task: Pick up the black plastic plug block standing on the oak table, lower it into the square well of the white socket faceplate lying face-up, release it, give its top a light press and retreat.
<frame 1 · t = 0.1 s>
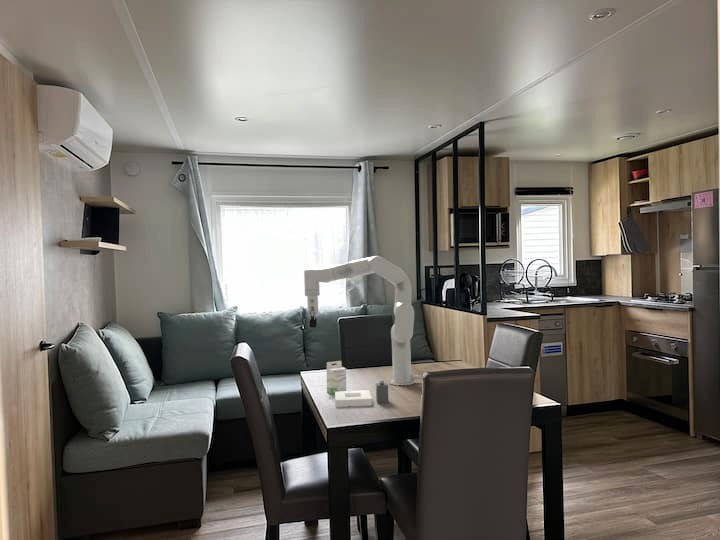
hand: (313, 326, 261), 31 cm above the table, tool pointing down, fingers open, 9 cm apart
ink box: (336, 392, 249), on the table
plug: (382, 402, 228), on the table
socket: (353, 401, 230), on the table
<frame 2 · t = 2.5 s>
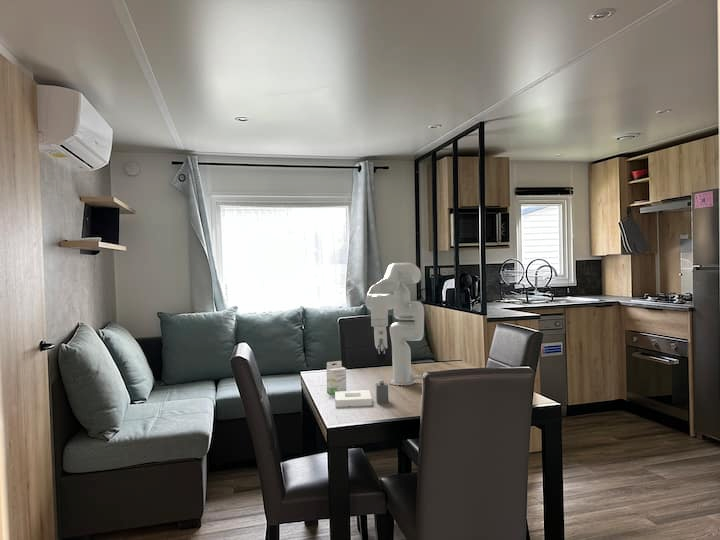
hand: (380, 360, 228), 18 cm above the table, tool pointing down, fingers open, 9 cm apart
nothing on the table moved.
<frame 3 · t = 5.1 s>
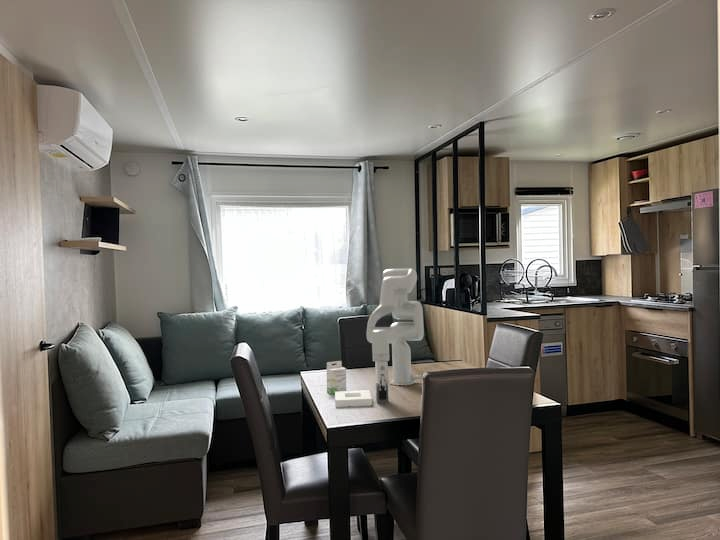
hand: (382, 397, 228), 2 cm above the table, tool pointing down, fingers closed on plug, 5 cm apart
plug: (382, 402, 228), on the table, touching gripper
everything else where it was.
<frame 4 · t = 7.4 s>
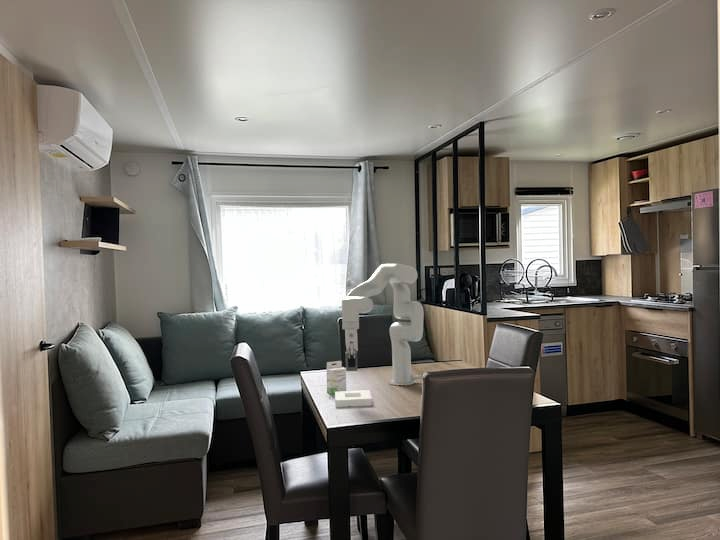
hand: (351, 365, 230), 16 cm above the table, tool pointing down, fingers closed on plug, 5 cm apart
plug: (351, 369, 230), point 14 cm above the table, touching gripper
everything else where it was.
when the fingers open (4 cm above the table, at t = 9.6 s): plug drops 2 cm, resting on socket.
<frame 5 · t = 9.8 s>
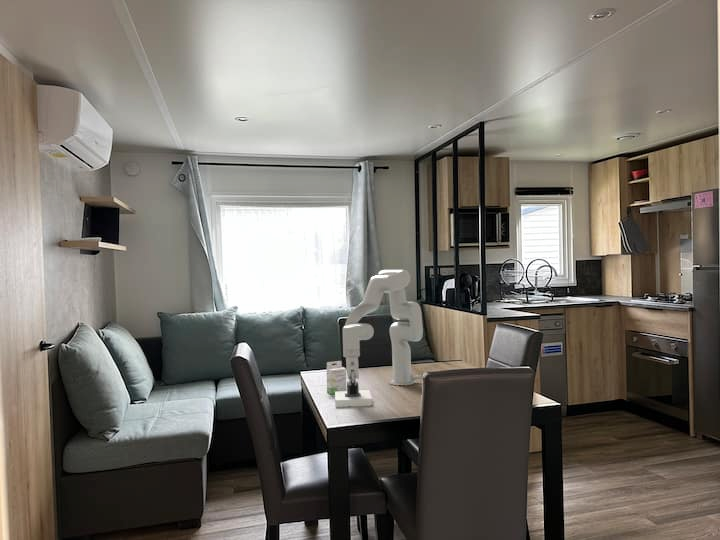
hand: (352, 391, 230), 4 cm above the table, tool pointing down, fingers open, 7 cm apart
plug: (353, 400, 230), resting on socket
everything else where it was.
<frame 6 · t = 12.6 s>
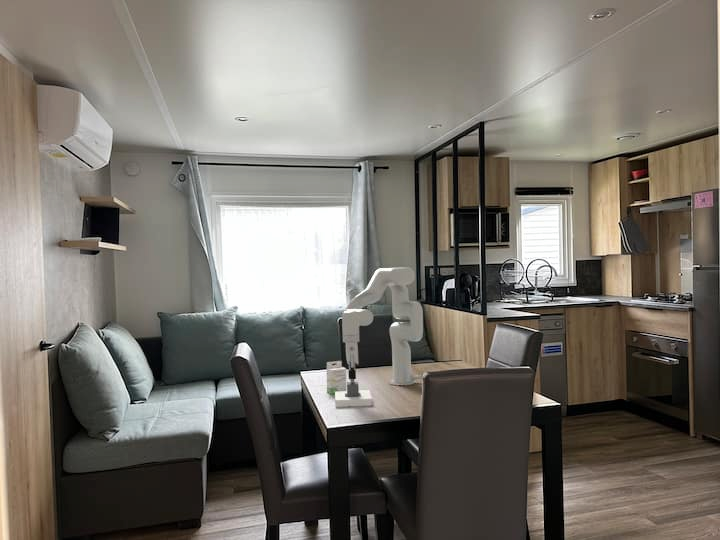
hand: (352, 378, 230), 10 cm above the table, tool pointing down, fingers closed
nothing on the table moved.
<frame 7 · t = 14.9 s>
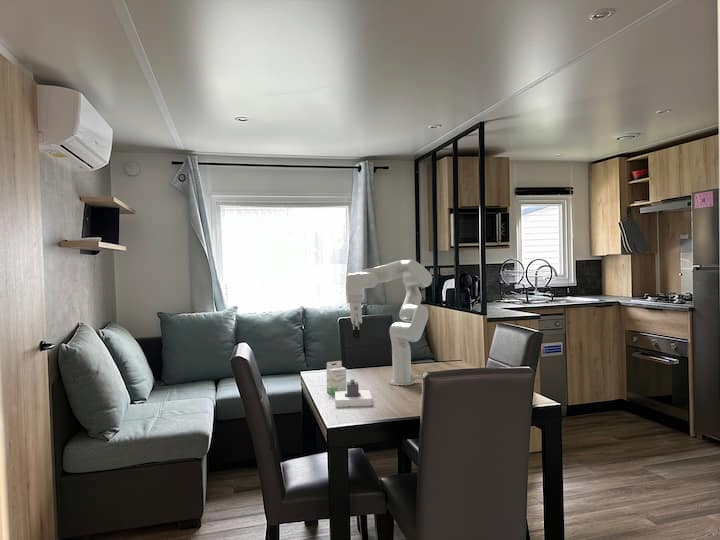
hand: (356, 337, 242), 27 cm above the table, tool pointing down, fingers closed
nothing on the table moved.
at the end: plug 0.1 cm off-centre on the socket, point 0.3 cm above the socket's base; plug tilted 0°; the gripper is holding nothing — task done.
